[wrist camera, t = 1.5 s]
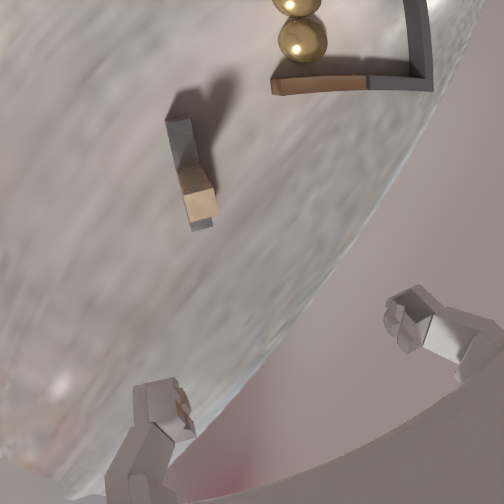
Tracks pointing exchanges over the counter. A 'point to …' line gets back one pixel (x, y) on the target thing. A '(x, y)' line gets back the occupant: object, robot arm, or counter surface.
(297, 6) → the brass chip
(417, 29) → the grey angled bracket
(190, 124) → the grey post with peg
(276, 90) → the walnut slot rails
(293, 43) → the brass chip
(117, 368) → the counter surface
